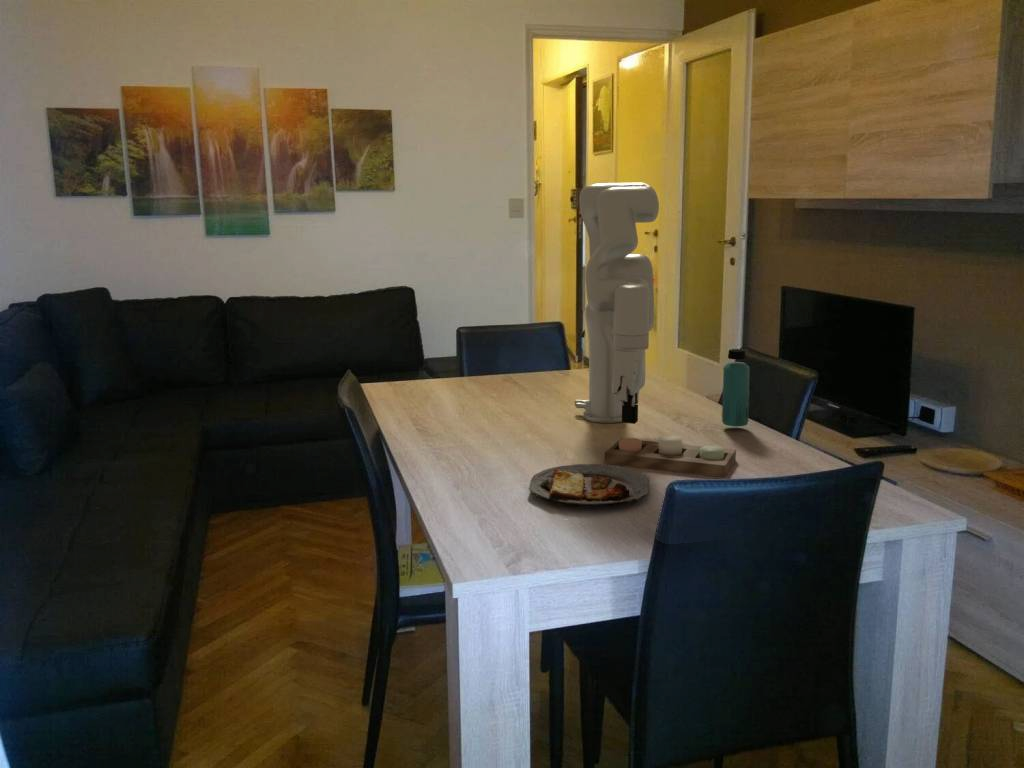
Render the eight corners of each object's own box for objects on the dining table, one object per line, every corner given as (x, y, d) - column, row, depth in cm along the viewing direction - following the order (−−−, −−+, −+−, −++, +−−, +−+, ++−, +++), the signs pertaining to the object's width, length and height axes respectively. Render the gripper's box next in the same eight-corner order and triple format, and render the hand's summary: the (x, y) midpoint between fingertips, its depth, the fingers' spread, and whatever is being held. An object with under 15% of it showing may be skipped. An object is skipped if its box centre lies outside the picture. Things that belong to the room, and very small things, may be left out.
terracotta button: (615, 458, 190) (616, 442, 189) (622, 452, 194) (622, 437, 193) (637, 460, 188) (638, 445, 187) (644, 454, 192) (644, 439, 191)
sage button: (697, 467, 182) (697, 451, 182) (702, 460, 187) (702, 445, 186) (720, 469, 180) (721, 453, 179) (725, 462, 185) (726, 447, 184)
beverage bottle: (749, 433, 209) (752, 352, 204) (721, 432, 210) (723, 351, 206) (747, 426, 215) (750, 347, 211) (720, 425, 216) (722, 346, 212)
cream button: (655, 456, 186) (656, 440, 185) (661, 449, 190) (662, 434, 189) (678, 458, 184) (679, 442, 183) (684, 452, 188) (684, 436, 187)
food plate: (647, 516, 156) (647, 497, 155) (521, 512, 160) (520, 494, 159) (650, 476, 180) (650, 460, 180) (540, 473, 184) (540, 457, 184)
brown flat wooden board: (604, 463, 187) (604, 452, 187) (621, 448, 198) (621, 438, 197) (724, 477, 177) (725, 465, 176) (735, 460, 187) (735, 449, 187)
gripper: (624, 333, 194) (623, 411, 198) (603, 346, 181) (602, 429, 185) (657, 335, 191) (655, 414, 195) (637, 349, 177) (636, 433, 182)
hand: (629, 422), depth 190 cm, fingers closed
